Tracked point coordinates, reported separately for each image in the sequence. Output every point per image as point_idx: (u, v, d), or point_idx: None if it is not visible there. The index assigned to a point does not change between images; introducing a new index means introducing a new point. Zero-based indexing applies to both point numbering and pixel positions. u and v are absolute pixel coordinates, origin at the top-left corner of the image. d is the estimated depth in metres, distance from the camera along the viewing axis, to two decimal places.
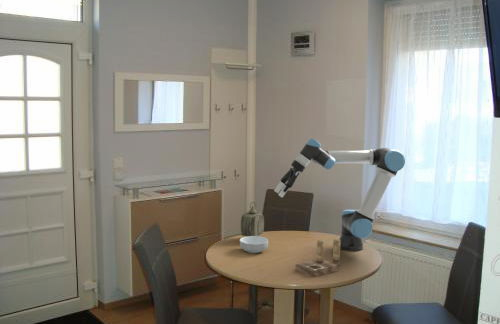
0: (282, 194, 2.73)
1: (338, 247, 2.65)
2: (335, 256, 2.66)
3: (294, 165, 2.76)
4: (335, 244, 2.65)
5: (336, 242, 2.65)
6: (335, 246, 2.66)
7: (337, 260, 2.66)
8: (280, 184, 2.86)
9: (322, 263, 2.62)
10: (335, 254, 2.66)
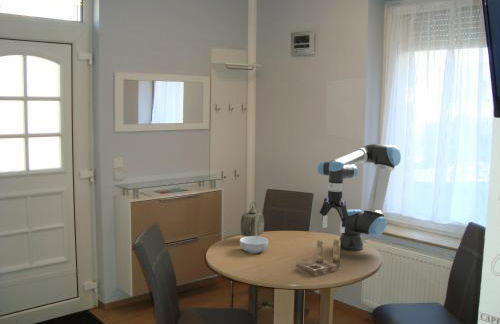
0: (343, 230, 2.60)
1: (338, 247, 2.65)
2: (335, 256, 2.66)
3: (334, 197, 2.61)
4: (335, 244, 2.65)
5: (336, 242, 2.65)
6: (335, 246, 2.66)
7: (337, 260, 2.66)
8: (324, 218, 2.71)
9: (322, 263, 2.62)
10: (335, 254, 2.66)
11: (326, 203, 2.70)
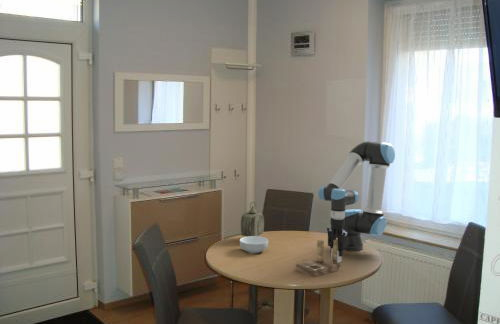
0: (340, 259, 2.66)
1: None
2: (335, 256, 2.66)
3: (337, 225, 2.62)
4: (335, 244, 2.65)
5: (336, 242, 2.65)
6: (335, 246, 2.66)
7: None
8: None
9: (322, 263, 2.62)
10: (335, 254, 2.66)
11: (330, 233, 2.70)
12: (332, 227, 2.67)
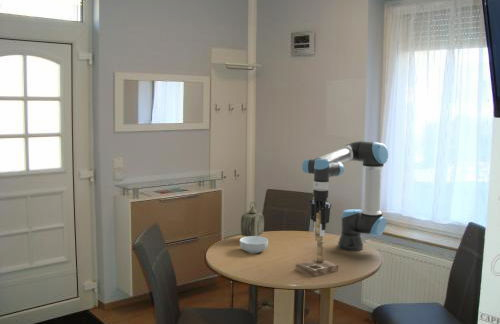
0: (323, 233, 2.53)
1: None
2: (318, 230, 2.53)
3: (320, 196, 2.49)
4: (318, 216, 2.52)
5: (319, 215, 2.52)
6: (318, 219, 2.53)
7: None
8: None
9: (322, 263, 2.62)
10: (318, 227, 2.53)
11: (313, 205, 2.57)
12: (315, 199, 2.55)
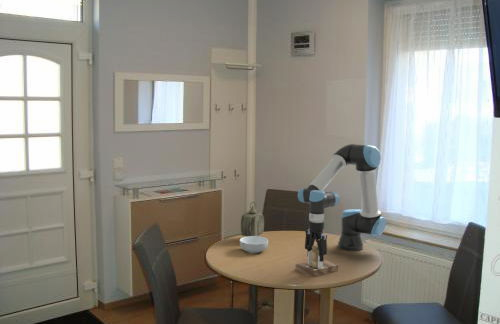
0: (321, 264, 2.52)
1: (317, 254, 2.53)
2: (314, 263, 2.53)
3: (315, 228, 2.49)
4: (314, 250, 2.52)
5: (315, 249, 2.52)
6: (314, 253, 2.53)
7: (316, 268, 2.53)
8: (310, 254, 2.57)
9: None
10: (314, 261, 2.53)
11: (308, 236, 2.57)
12: (311, 231, 2.54)
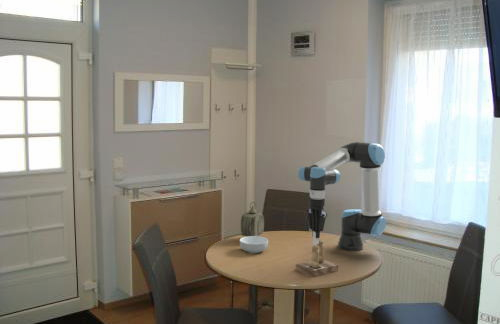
0: (317, 241, 2.53)
1: (317, 254, 2.53)
2: (314, 263, 2.53)
3: (316, 205, 2.48)
4: (314, 250, 2.52)
5: (315, 249, 2.52)
6: (314, 253, 2.53)
7: (316, 268, 2.53)
8: None
9: (322, 263, 2.62)
10: (314, 261, 2.53)
11: (310, 214, 2.55)
12: (311, 208, 2.53)
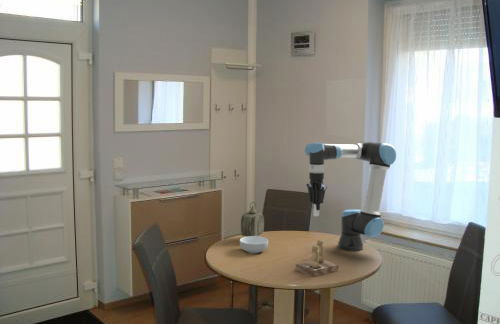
0: (317, 213, 2.66)
1: (317, 254, 2.53)
2: (314, 263, 2.53)
3: (316, 178, 2.60)
4: (314, 250, 2.52)
5: (315, 249, 2.52)
6: (314, 253, 2.53)
7: (316, 268, 2.53)
8: None
9: (322, 263, 2.62)
10: (314, 261, 2.53)
11: (310, 188, 2.68)
12: (311, 182, 2.66)
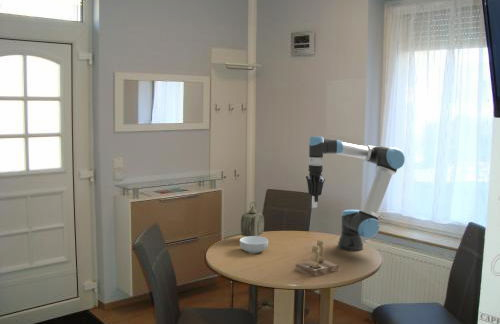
0: (315, 204, 2.75)
1: (317, 254, 2.53)
2: (314, 263, 2.53)
3: (315, 171, 2.69)
4: (314, 250, 2.52)
5: (315, 249, 2.52)
6: (314, 253, 2.53)
7: (316, 268, 2.53)
8: None
9: (322, 263, 2.62)
10: (314, 261, 2.53)
11: (309, 180, 2.77)
12: (310, 174, 2.75)
